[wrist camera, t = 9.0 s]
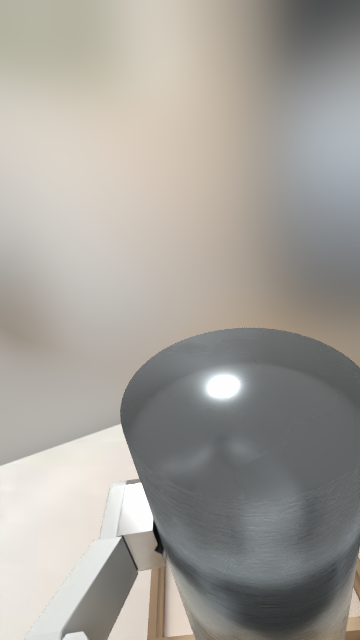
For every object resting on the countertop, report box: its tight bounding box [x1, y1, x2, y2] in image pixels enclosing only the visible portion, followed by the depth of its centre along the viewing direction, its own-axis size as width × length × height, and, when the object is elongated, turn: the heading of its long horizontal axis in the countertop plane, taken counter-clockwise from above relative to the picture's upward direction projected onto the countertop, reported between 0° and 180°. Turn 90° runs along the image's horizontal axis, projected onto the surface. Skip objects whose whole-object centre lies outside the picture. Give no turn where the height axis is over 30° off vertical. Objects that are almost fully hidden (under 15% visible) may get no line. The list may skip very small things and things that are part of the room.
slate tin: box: [120, 328, 360, 640], centre depth 9 cm, size 6×6×11 cm
